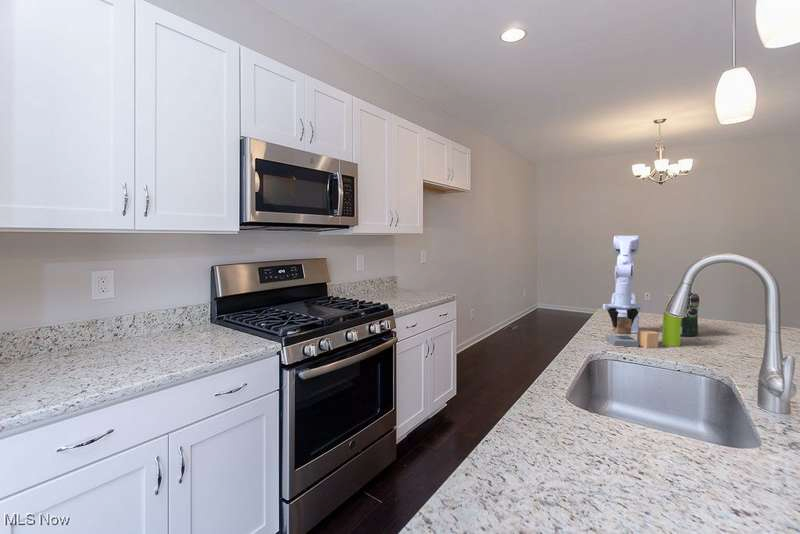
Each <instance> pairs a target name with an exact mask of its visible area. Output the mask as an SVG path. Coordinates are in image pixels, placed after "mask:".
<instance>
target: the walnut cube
mask: <svg viewBox="0 0 800 534" xmlns="http://www.w3.org/2000/svg"><path fill="white" fill-rule="evenodd" d="M631 322H632V320H631V319H629V318H627V317H617V327H613V326H612V327H611V328H612V329H611V331H612V332H613V333H615V334H616V335H632V333H631Z"/></svg>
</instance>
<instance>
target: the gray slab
mask: <svg viewBox="0 0 800 534" xmlns="http://www.w3.org/2000/svg"><path fill="white" fill-rule="evenodd" d="M606 341H607V342H608V343H607V342H606ZM604 342H606V343H607V344H609V343H610V344H612V345H613V346H624V347H623V348H628V347H640V346H639V341H637V339H636V338H634V337H632V336H630V335H629V334H605V335H604ZM610 344H609V345H610ZM612 345H611V346H612ZM613 346H612V347H613Z"/></svg>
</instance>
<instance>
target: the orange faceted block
mask: <svg viewBox="0 0 800 534" xmlns="http://www.w3.org/2000/svg"><path fill="white" fill-rule="evenodd" d="M636 335H637V336H636V337H637V339H636V340H637V341H639V345H640V346H639V347H642V346H643V347H642V348H644V347H646V348H645V349H658V348H659V335H660V334H659V332H657V331H654V330H650V329H641V330H640V329H638V333H636Z"/></svg>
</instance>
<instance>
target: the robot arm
mask: <svg viewBox="0 0 800 534" xmlns="http://www.w3.org/2000/svg"><path fill="white" fill-rule="evenodd" d="M639 247H640V236H639V235H614V237H613V247H612V248H613V252H614V254H615V255H617V259H616V265H615V266H614V282H615V292H613V293H612V295H611V303H603V304H602V309H603V310H606V311H607V313H608V315H609V317H610V319H611V324H612V325H611V326H612V327H617V317H627V318H629V319H631V320H632V322H631V334H638V330H640V329H639V328H640V327H639V325H640V323H639V322H640V318H639V312H640V311H644V305H643V304H640V303H639V304H637V296H636V294H635V293H633V292H632V290H633V288H632V287H633V279H634V276H635V275H634V273H635V267H634V255H637V254H638V252H639ZM612 327H609V329H610V330H612Z"/></svg>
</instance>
